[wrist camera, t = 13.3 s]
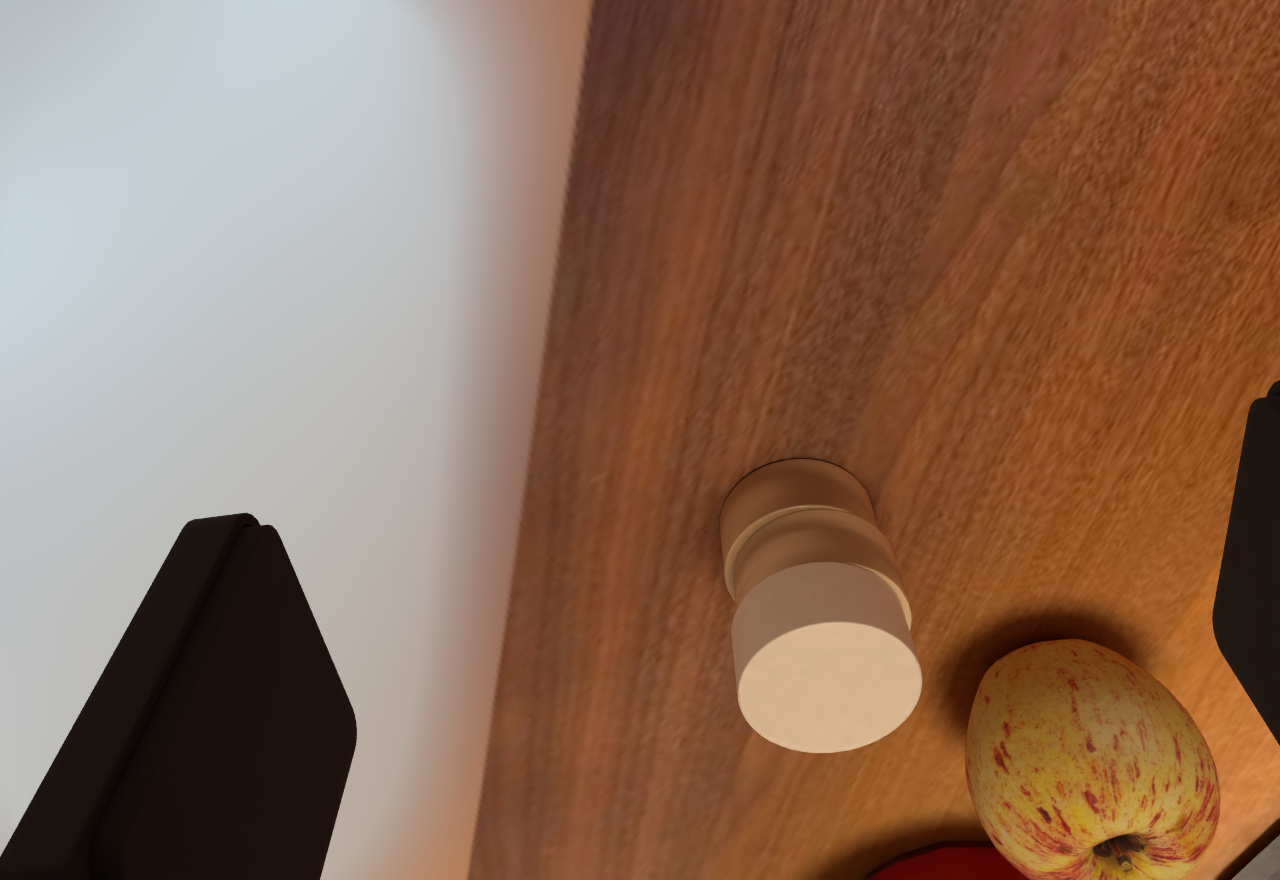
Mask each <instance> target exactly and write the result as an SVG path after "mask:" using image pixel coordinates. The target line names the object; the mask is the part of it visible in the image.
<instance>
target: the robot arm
mask: <svg viewBox="0 0 1280 880" xmlns="http://www.w3.org/2000/svg"><path fill="white" fill-rule="evenodd" d="M1212 620H1213V630H1214V634H1215V638H1216V641H1217V644H1218V647H1219V649H1220V651H1221V653H1222V654H1223V656H1224V658H1225V659H1226V661H1227V662H1228V664H1229V666H1230V667H1231V669H1232V670H1233V672H1234V673H1235V675H1236V677H1237V678H1238V680H1239V681H1240V683H1241V685H1242V686H1243V688H1244V689H1245V691H1246V693H1247V694H1248V696H1249V697H1250V699H1251V701H1252V702H1253V704H1254V705H1255V707H1256V709H1257V710H1258V712H1259V713H1260V715H1261V717H1262V718H1263V720H1264V721H1265V723H1266V724H1267V726H1268V728H1269V729H1270V731H1271V732H1272V734H1273V736H1274V737H1275V739H1276V740H1277V742H1278V744H1279V745H1280V380H1279V381H1277V382H1275V383H1274V384H1273V385H1272V387H1271V388H1270V389H1269V391H1268V394H1267V397H1265V398H1259V399H1257V400H1255V401H1254V402H1253V403H1252V405H1251V407H1250V410H1249V413H1248V418H1247V424H1246V429H1245V435H1244V441H1243V446H1242V452H1241V457H1240V463H1239V468H1238V474H1237V480H1236V485H1235V491H1234V496H1233V502H1232V508H1231V513H1230V519H1229V524H1228V530H1227V535H1226V541H1225V547H1224V552H1223V558H1222V563H1221V569H1220V575H1219V580H1218V586H1217V591H1216V597H1215V603H1214V608H1213V617H1212ZM356 739H357V727H356V719H355V714H354V711H353V708H352V706H351V703H350V701H349V698H348V696H347V694H346V691H345V689H344V687H343V684H342V682H341V680H340V677H339V675H338V673H337V670H336V668H335V665H334V663H333V661H332V659H331V656H330V654H329V651H328V649H327V647H326V644H325V642H324V640H323V637H322V635H321V633H320V630H319V628H318V625H317V623H316V621H315V618H314V616H313V613H312V611H311V609H310V607H309V604H308V602H307V599H306V597H305V595H304V592H303V590H302V588H301V585H300V583H299V581H298V578H297V576H296V573H295V571H294V569H293V566H292V564H291V562H290V559H289V557H288V554H287V552H286V550H285V547H284V545H283V543H282V540H281V538H280V536H279V534H278V532H277V530H276V529H275V528H274V527H273V526H271V525H260V524H259V522H258V520H257V519H256V518H255V517H254V516H253V515H251V514H248V513H241V514H233V515H225V516H217V517H210V518H202V519H194V520H192V521H189V522H188V523H187V524H186V525H185V526H184V527H183V529H182V531H181V532H180V534H179V536H178V538H177V540H176V541H175V543H174V545H173V547H172V549H171V550H170V552H169V554H168V556H167V558H166V559H165V561H164V563H163V565H162V567H161V569H160V570H159V572H158V574H157V576H156V578H155V579H154V581H153V583H152V585H151V586H150V588H149V590H148V592H147V594H146V595H145V597H144V599H143V601H142V603H141V604H140V606H139V608H138V610H137V612H136V614H135V615H134V617H133V619H132V621H131V622H130V624H129V626H128V628H127V630H126V631H125V633H124V635H123V637H122V639H121V640H120V642H119V644H118V646H117V648H116V649H115V651H114V653H113V655H112V657H111V658H110V660H109V662H108V664H107V666H106V667H105V669H104V671H103V673H102V675H101V677H100V678H99V680H98V682H97V684H96V686H95V687H94V689H93V691H92V693H91V695H90V696H89V698H88V700H87V702H86V704H85V705H84V707H83V709H82V711H81V713H80V714H79V716H78V718H77V720H76V722H75V723H74V725H73V727H72V729H71V731H70V732H69V734H68V736H67V738H66V740H65V741H64V743H63V745H62V747H61V749H60V750H59V752H58V754H57V756H56V758H55V759H54V761H53V763H52V765H51V767H50V768H49V770H48V772H47V774H46V776H45V777H44V779H43V781H42V783H41V785H40V786H39V788H38V790H37V792H36V794H35V795H34V797H33V799H32V801H31V803H30V804H29V806H28V808H27V810H26V812H25V814H24V815H23V817H22V819H21V821H20V823H19V824H18V826H17V828H16V830H15V832H14V833H13V835H12V837H11V839H10V841H9V842H8V844H7V846H6V848H5V850H4V851H3V853H2V855H1V857H0V880H320V877H321V873H322V870H323V866H324V862H325V858H326V855H327V851H328V847H329V844H330V840H331V836H332V832H333V829H334V825H335V821H336V818H337V814H338V810H339V807H340V803H341V799H342V796H343V792H344V788H345V784H346V781H347V777H348V773H349V770H350V766H351V762H352V758H353V755H354V751H355V746H356Z"/></svg>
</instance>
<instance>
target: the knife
mask: <svg viewBox="0 0 1280 880" xmlns="http://www.w3.org/2000/svg"><path fill="white" fill-rule="evenodd" d="M1231 880H1280V835H1279V836H1278V837H1277V838H1276V839H1275V840H1274V841H1272V842H1271V843H1270V844H1269V845H1268V846H1267V847H1266V848H1265V849H1264V850H1263V851H1262V852H1260V853H1259V854H1258V855H1257V856H1256V857H1255V858H1254V859H1253V860H1252V861H1251V862H1250V863H1249V864H1247V865H1246V866H1245V867H1244V868H1243V869H1242V870H1241V871H1240V872H1239V873H1238V874H1237V875H1236V876H1235V877H1233V878H1232V879H1231Z"/></svg>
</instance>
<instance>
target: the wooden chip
mask: <svg viewBox="0 0 1280 880" xmlns="http://www.w3.org/2000/svg"><path fill="white" fill-rule="evenodd" d="M731 635H732V646H733V656H734V666H735V675H736V685H737V695H738V702H739V706H740V709H741V711H742V714H743V716H744V717H745V719H746V720H747V722H748V723H749V724H750V726H751V727H752V728H753V729H754V730H755V731H756V732H758V733H759V734H760V735H761V736H763V737H764V738H766V739H767V740H769V741H771V742H773V743H775V744H777V745H780V746H782V747H785V748H788V749H792V750H797V751H801V752H810V753H834V752H841V751H847V750H851V749H855V748H859V747H862V746H865V745H868V744H870V743H872V742H875V741H877V740H879V739H881V738H882V737H884V736H886V735H888V734H889V733H891V732H892V731H893V730H895V729H896V728H897V727H898V726H900V725H901V724H902V723H903V722H904V721H905V720H906V719H907V717H908V716H909V715H910V714H911V712H912V711H913V709H914V708H915V706H916V704H917V701H918V699H919V696H920V693H921V689H922V673H921V668H920V665H919V662H918V658H917V655H916V652H915V648H914V645H913V642H912V638H911V635H910V632H909V628H908V625H907V621H906V618H905V615H904V611H903V608H902V605H901V602H900V600H899V598H898V596H897V595H896V593H895V592H894V591H893V589H892V588H891V587H890V586H889V585H888V584H887V583H886V582H885V581H884V580H882V579H881V578H879V577H878V576H877V575H875V574H873V573H871V572H869V571H867V570H865V569H862V568H860V567H857V566H853V565H849V564H844V563H837V562H813V563H806V564H800V565H797V566H793V567H789V568H787V569H784V570H781V571H779V572H777V573H775V574H773V575H771V576H769V577H767V578H766V579H764V580H763V581H761V582H760V583H758V584H757V585H756V586H755V587H754V588H753V589H751V590H750V592H749V593H748V594H747V595H746V596H745V597H744V599H743V600H742V601H741V603H740V604H739V606H738V608H737V610H736V612H735V615H734V618H733V622H732V629H731Z"/></svg>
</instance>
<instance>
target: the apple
mask: <svg viewBox="0 0 1280 880" xmlns="http://www.w3.org/2000/svg"><path fill="white" fill-rule="evenodd" d="M965 767H966V777H967V783H968V788H969V792H970V796H971V799H972V802H973V805H974V807H975V810H976V813H977V815H978V817H979V819H980V822H981V824H982V826H983V828H984V830H985V831H986V833H987V835H988V836H989V838H990V839H991V841H992V843H993V844H994V846H995V847H996V849H997V850H998V851H999V852H1000V853H1001V854H1002V856H1003V857H1004V858H1006V859H1007V860H1008V861H1009V862H1010V863H1011V864H1012V865H1013V866H1014V867H1015V868H1016V869H1018V870H1019V871H1020V872H1021V873H1022V874H1023V875H1025V876H1026V877H1027V878H1029V879H1030V880H1182V879H1183V878H1184V877H1185V876H1186V875H1187V874H1188V873H1190V872H1191V871H1192V870H1193V869H1194V868H1195V867H1196V865H1197V864H1198V863H1199V862H1200V860H1201V859H1202V857H1203V856H1204V855H1205V853H1206V851H1207V850H1208V848H1209V846H1210V844H1211V842H1212V840H1213V838H1214V835H1215V832H1216V828H1217V825H1218V820H1219V814H1220V787H1219V780H1218V775H1217V770H1216V766H1215V763H1214V760H1213V757H1212V755H1211V752H1210V750H1209V747H1208V745H1207V743H1206V741H1205V739H1204V737H1203V735H1202V734H1201V732H1200V730H1199V728H1198V727H1197V725H1196V723H1195V722H1194V720H1193V719H1192V717H1191V716H1190V715H1189V713H1188V712H1187V711H1186V709H1185V708H1184V707H1183V706H1182V704H1181V703H1180V702H1179V701H1178V700H1177V699H1176V698H1175V697H1174V696H1173V694H1172V693H1171V692H1170V691H1169V690H1168V689H1166V688H1165V687H1164V686H1163V685H1162V684H1161V683H1160V682H1159V681H1158V680H1156V679H1155V678H1154V677H1153V676H1151V675H1150V674H1149V673H1147V672H1146V671H1145V670H1143V669H1142V668H1140V667H1139V666H1138V665H1136V664H1135V663H1133V662H1131V661H1130V660H1128V659H1127V658H1125V657H1123V656H1122V655H1120V654H1118V653H1116V652H1114V651H1112V650H1110V649H1108V648H1105V647H1103V646H1101V645H1098V644H1096V643H1093V642H1090V641H1086V640H1082V639H1064V640H1053V641H1043V642H1038V643H1033V644H1030V645H1027V646H1024V647H1021V648H1019V649H1016V650H1014V651H1012V652H1010V653H1009V654H1007V655H1006V656H1004V657H1002V658H1001V659H999V660H998V661H996V662H995V663H994V664H993V665H992V666H991V667H990V668H989V669H988V670H987V672H986V673H985V675H984V677H983V678H982V680H981V683H980V685H979V688H978V691H977V693H976V696H975V699H974V702H973V706H972V709H971V713H970V717H969V723H968V728H967V734H966V743H965Z"/></svg>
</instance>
